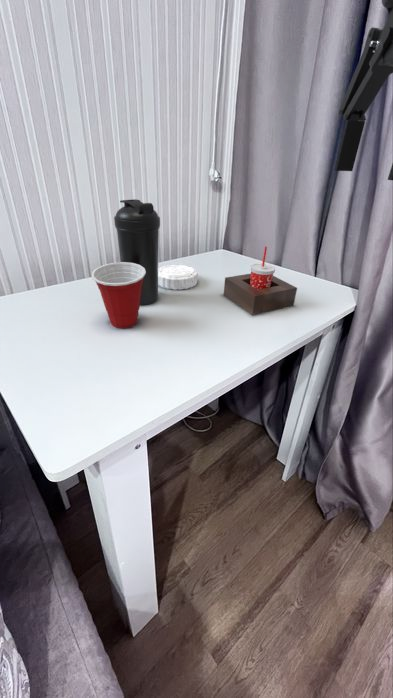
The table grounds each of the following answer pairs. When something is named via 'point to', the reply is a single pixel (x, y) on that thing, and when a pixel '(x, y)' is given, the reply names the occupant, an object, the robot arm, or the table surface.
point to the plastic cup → (120, 291)
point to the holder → (259, 294)
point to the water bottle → (140, 243)
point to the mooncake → (177, 277)
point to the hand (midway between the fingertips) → (367, 175)
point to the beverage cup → (261, 274)
